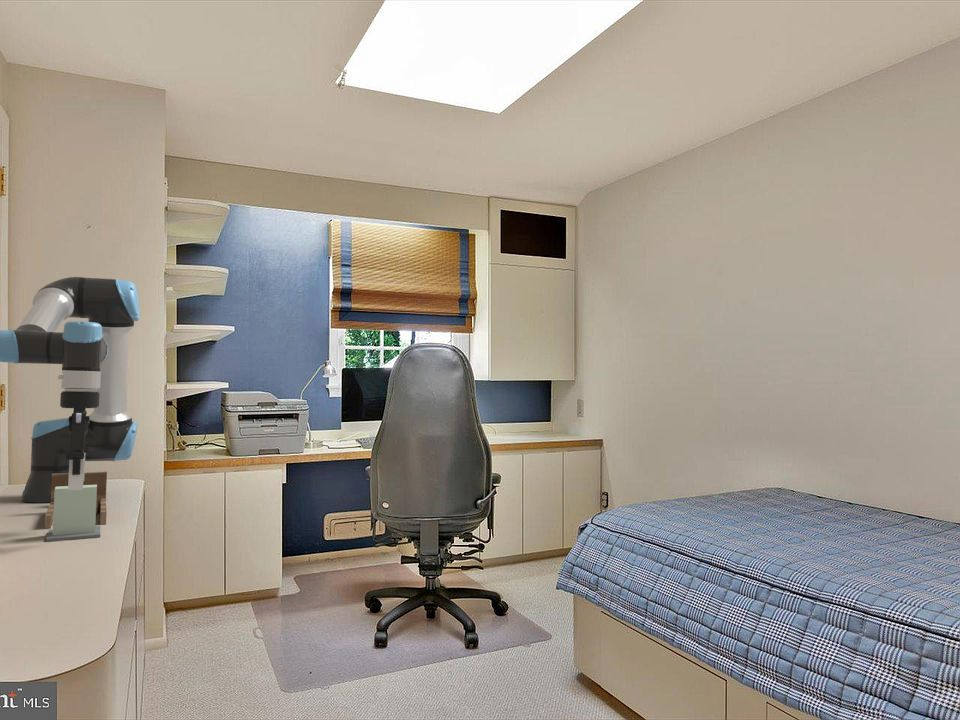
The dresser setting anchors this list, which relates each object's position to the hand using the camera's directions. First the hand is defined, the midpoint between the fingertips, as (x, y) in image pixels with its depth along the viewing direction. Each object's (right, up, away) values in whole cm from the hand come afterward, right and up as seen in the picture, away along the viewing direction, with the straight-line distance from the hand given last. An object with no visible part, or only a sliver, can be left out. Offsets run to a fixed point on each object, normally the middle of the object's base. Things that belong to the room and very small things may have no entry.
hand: (76, 485), depth 149 cm
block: (0, -10, 0) cm, 10 cm away
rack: (-10, -11, +17) cm, 23 cm away
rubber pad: (0, -11, -1) cm, 11 cm away
